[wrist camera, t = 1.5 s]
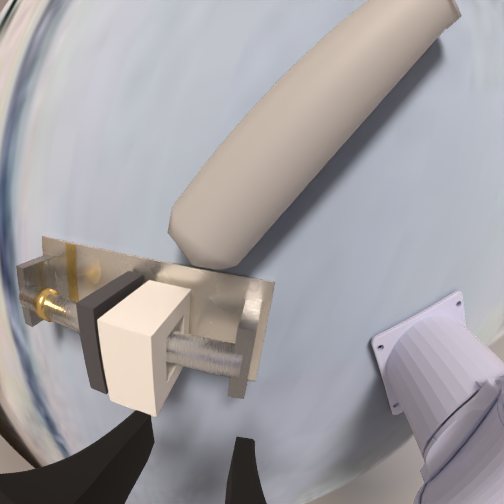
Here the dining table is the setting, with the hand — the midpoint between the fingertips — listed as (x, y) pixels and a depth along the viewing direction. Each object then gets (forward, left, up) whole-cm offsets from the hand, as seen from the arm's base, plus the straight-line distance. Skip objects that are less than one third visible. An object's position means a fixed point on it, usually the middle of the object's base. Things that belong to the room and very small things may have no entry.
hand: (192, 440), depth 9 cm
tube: (+11, -12, -10) cm, 19 cm away
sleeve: (+3, +3, -10) cm, 11 cm away
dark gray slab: (+4, +6, -10) cm, 12 cm away
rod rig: (+4, +6, -10) cm, 12 cm away
